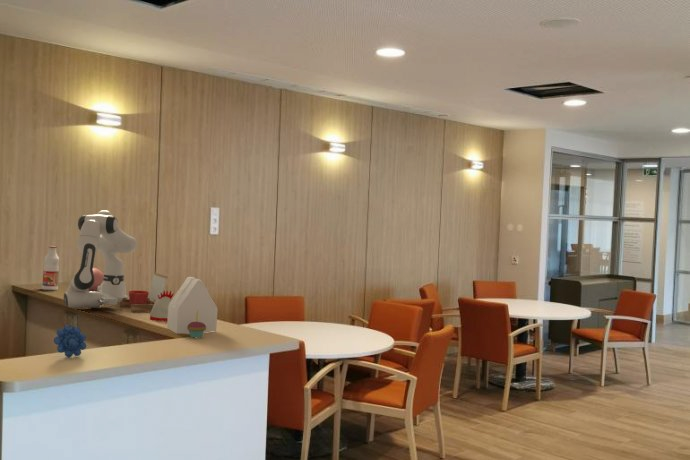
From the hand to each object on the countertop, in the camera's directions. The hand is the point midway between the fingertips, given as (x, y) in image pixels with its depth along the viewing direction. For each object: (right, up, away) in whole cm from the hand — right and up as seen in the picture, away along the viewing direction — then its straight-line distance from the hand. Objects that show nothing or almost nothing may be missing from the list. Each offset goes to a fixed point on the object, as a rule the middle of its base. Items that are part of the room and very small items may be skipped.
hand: (121, 299), depth 377 cm
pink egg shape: (-41, -2, +70) cm, 81 cm away
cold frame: (+9, -6, +5) cm, 11 cm away
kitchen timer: (+30, -8, -24) cm, 39 cm away
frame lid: (+17, +6, +10) cm, 20 cm away
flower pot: (+7, -6, +5) cm, 11 cm away
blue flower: (+23, -9, -127) cm, 129 cm away
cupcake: (+56, -10, -69) cm, 90 cm away
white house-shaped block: (+50, -10, -51) cm, 73 cm away
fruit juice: (-67, 0, +63) cm, 92 cm away
